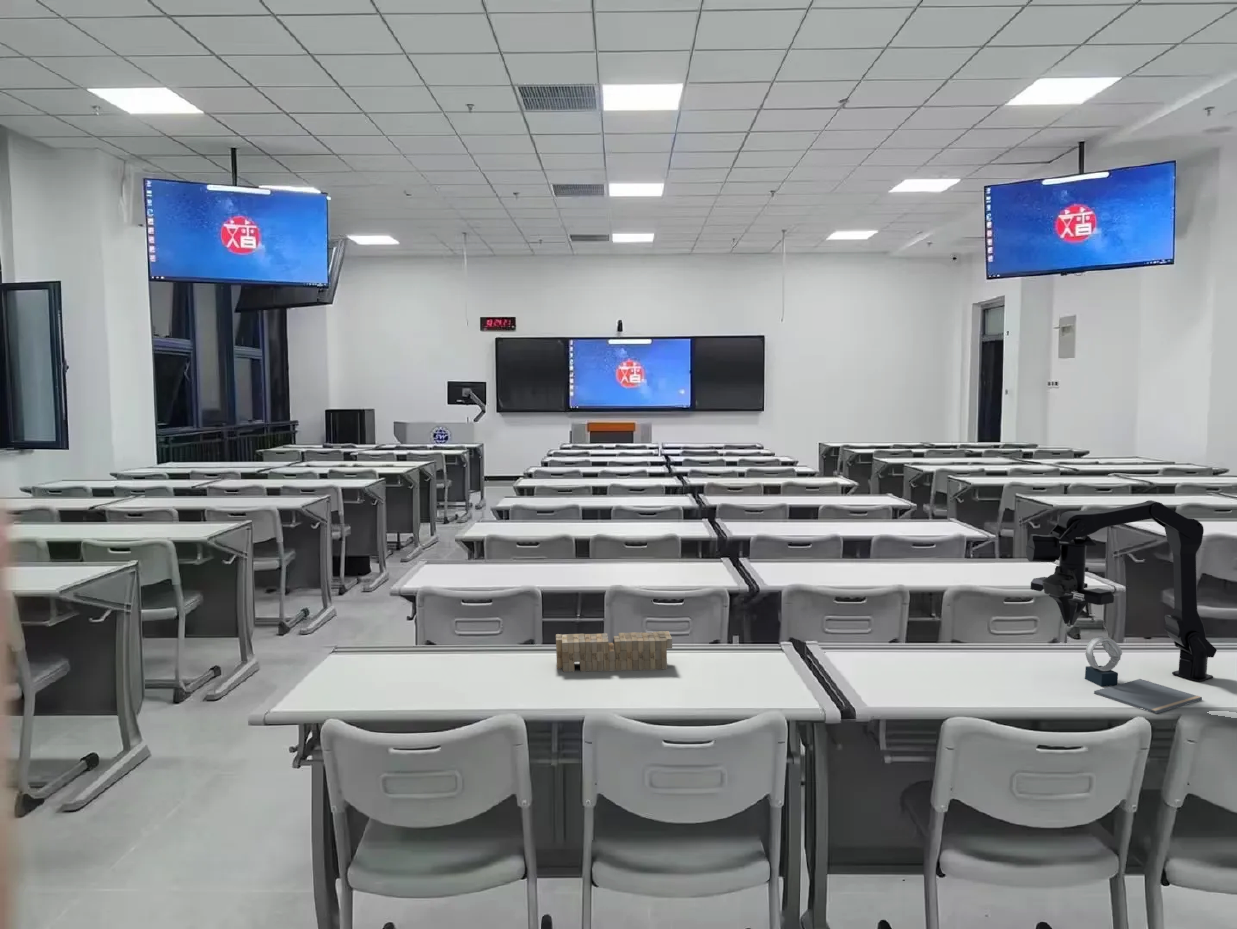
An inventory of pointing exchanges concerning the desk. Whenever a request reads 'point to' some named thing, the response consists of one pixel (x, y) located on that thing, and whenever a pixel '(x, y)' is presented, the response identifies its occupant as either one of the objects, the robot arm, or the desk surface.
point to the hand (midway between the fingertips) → (1069, 624)
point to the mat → (1148, 695)
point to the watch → (1105, 673)
